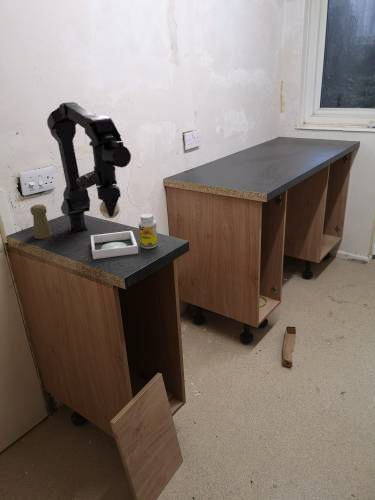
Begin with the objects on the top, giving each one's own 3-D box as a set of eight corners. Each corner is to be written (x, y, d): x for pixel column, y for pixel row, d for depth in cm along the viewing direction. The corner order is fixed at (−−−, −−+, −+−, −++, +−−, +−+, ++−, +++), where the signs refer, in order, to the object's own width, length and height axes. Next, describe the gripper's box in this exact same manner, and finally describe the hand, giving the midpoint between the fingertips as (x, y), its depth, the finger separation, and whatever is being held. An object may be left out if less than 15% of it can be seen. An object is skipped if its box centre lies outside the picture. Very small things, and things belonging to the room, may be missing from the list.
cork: (46, 231, 143) (40, 201, 138) (55, 234, 139) (50, 204, 135) (30, 236, 139) (24, 206, 134) (40, 240, 135) (34, 209, 131)
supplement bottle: (136, 247, 127) (134, 217, 123) (146, 241, 131) (144, 211, 127) (151, 250, 124) (149, 219, 120) (161, 244, 129) (159, 214, 125)
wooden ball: (119, 213, 126) (117, 195, 124) (121, 219, 121) (119, 200, 119) (100, 216, 125) (98, 197, 123) (101, 222, 120) (99, 202, 117)
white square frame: (91, 242, 132) (90, 235, 131) (132, 237, 135) (131, 230, 134) (93, 259, 120) (92, 251, 119) (138, 253, 122) (137, 245, 121)
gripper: (75, 158, 123) (82, 207, 129) (76, 171, 106) (83, 226, 112) (112, 156, 125) (117, 203, 131) (117, 168, 109) (123, 221, 115)
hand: (110, 213), depth 122 cm, fingers closed on wooden ball, 6 cm apart
